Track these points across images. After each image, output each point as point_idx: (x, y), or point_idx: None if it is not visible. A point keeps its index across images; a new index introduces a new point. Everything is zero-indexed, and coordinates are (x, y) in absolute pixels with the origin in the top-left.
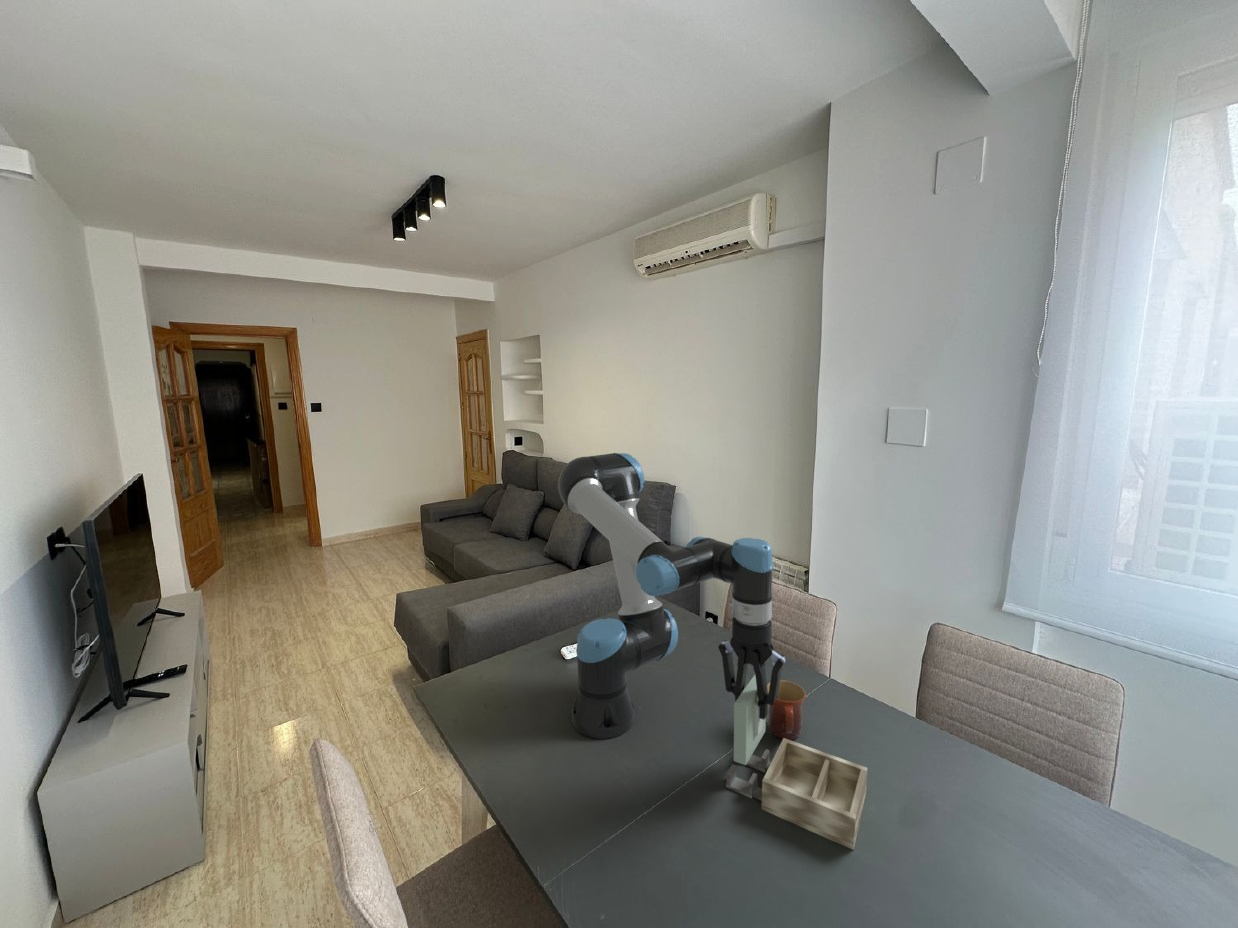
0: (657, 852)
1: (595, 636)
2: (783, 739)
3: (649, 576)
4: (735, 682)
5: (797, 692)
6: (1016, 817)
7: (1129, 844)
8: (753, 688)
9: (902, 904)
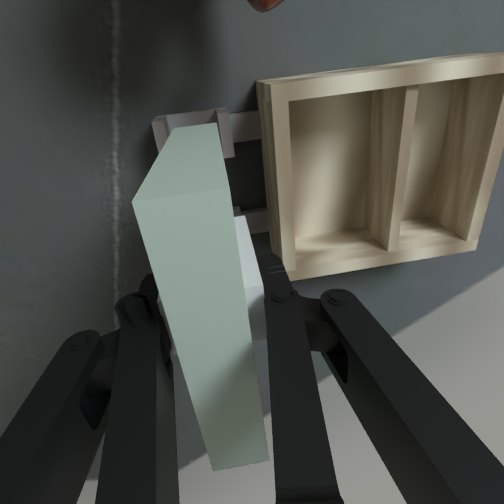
0: (183, 395)
1: None
2: (273, 94)
3: None
4: (93, 348)
5: None
6: None
7: None
8: (224, 348)
9: (490, 259)
